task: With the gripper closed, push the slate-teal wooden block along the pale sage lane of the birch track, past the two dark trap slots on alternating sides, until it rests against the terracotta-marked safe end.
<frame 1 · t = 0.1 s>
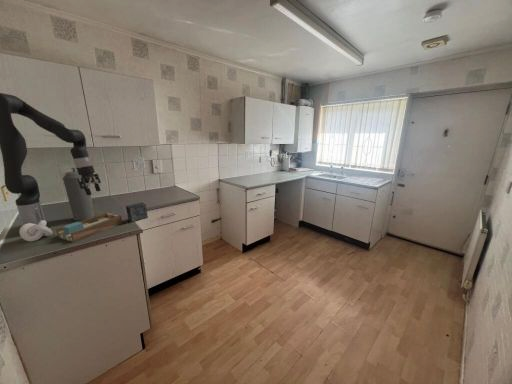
hand: (94, 193, 121), 22 cm above the counter, tool pointing down, fingers open, 8 cm apart
block: (74, 231, 116), point 3 cm above the counter, touching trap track
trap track: (92, 229, 125), on the counter
white knot sculpture: (40, 238, 115), on the counter
canister: (84, 218, 142), on the counter
small box: (138, 219, 141), on the counter
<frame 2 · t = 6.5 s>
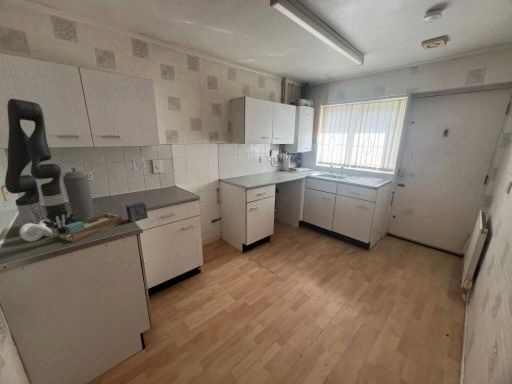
hand: (62, 233, 111), 4 cm above the counter, tool pointing down, fingers closed
block: (75, 230, 116), point 3 cm above the counter, touching gripper
everything else where it was.
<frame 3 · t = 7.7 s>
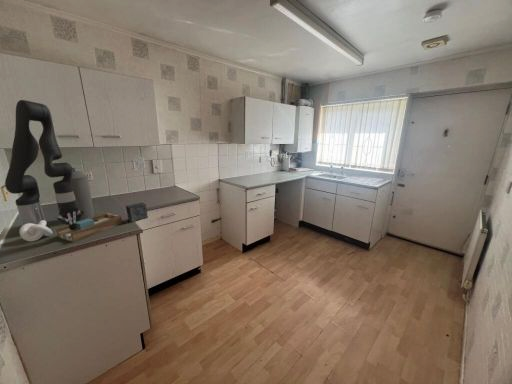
hand: (73, 229, 115), 4 cm above the counter, tool pointing down, fingers closed
block: (85, 227, 121), point 3 cm above the counter, touching gripper
everything else where it was.
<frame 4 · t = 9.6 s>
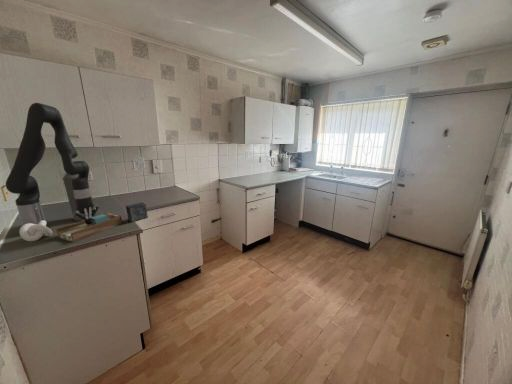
hand: (89, 224, 122), 4 cm above the counter, tool pointing down, fingers closed
block: (100, 222, 128), point 3 cm above the counter, touching gripper
everything else where it was.
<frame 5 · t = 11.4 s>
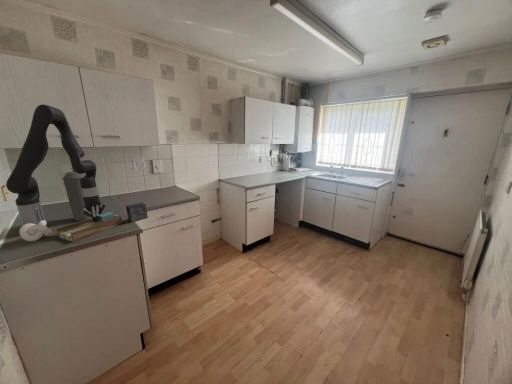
hand: (96, 221, 126), 4 cm above the counter, tool pointing down, fingers closed
block: (107, 220, 131), point 3 cm above the counter, touching gripper, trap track
everything else where it was.
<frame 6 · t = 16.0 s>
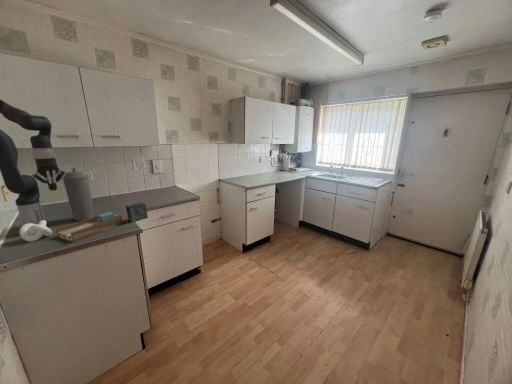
hand: (53, 190, 109), 27 cm above the counter, tool pointing down, fingers closed
block: (107, 220, 131), point 3 cm above the counter, touching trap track
everything else where it was.
at the end: block 1.0 cm from the target spot, point 3.0 cm above the counter; block tilted 0° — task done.
